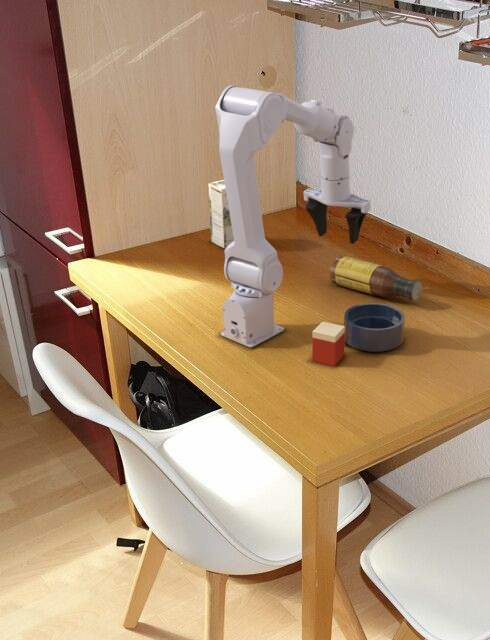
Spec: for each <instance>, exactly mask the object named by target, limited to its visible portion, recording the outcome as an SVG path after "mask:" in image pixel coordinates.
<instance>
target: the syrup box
mask: <svg viewBox="0 0 490 640" xmlns="http://www.w3.org/2000/svg"><path fill="white" fill-rule="evenodd" d="M207 185H208V202H209V203H208V205H209V222H210V225H209V226H210V241H211V243H212V244H215V245H217V246H218V247H220V248H222V249H224V250H225V249H226V248H227V246H228V245H229V244H230V243H232V242H233V241H234V236H233V230H232V224H231V218H230V212H229V206H228V200H227V194H226V188H225V182H224V179H221V180H216V181H212V182H208V183H207Z"/></svg>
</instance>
